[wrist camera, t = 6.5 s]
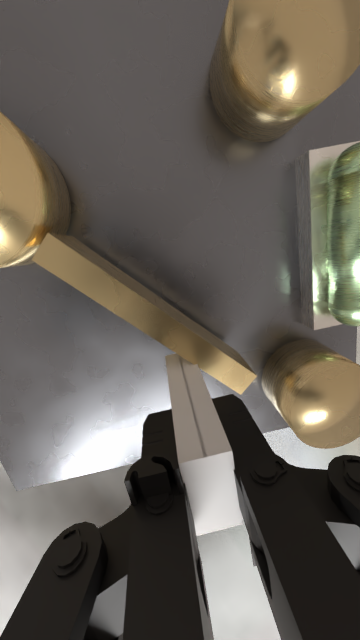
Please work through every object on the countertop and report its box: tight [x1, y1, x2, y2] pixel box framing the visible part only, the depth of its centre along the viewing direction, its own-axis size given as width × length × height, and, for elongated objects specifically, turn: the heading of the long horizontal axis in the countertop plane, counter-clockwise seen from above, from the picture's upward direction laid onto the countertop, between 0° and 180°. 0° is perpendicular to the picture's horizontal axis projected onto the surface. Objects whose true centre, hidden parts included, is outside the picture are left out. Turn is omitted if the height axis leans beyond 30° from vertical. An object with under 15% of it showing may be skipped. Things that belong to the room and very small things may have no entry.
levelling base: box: [0, 0, 360, 491], centre depth 13 cm, size 24×24×6 cm
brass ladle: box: [0, 112, 257, 395], centre depth 11 cm, size 17×6×4 cm, turn 53°
